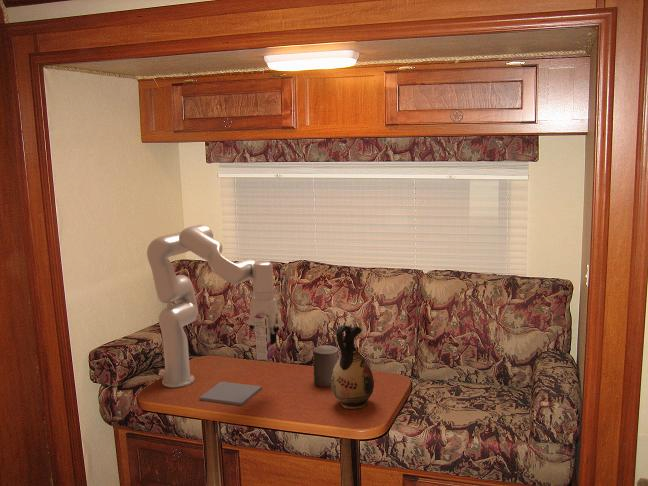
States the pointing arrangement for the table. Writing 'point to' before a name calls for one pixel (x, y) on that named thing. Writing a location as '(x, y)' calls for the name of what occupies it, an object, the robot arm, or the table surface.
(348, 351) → the ceramic jug
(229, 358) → the table surface
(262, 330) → the candy bar box
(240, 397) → the rubber mat
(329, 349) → the pillar candle
